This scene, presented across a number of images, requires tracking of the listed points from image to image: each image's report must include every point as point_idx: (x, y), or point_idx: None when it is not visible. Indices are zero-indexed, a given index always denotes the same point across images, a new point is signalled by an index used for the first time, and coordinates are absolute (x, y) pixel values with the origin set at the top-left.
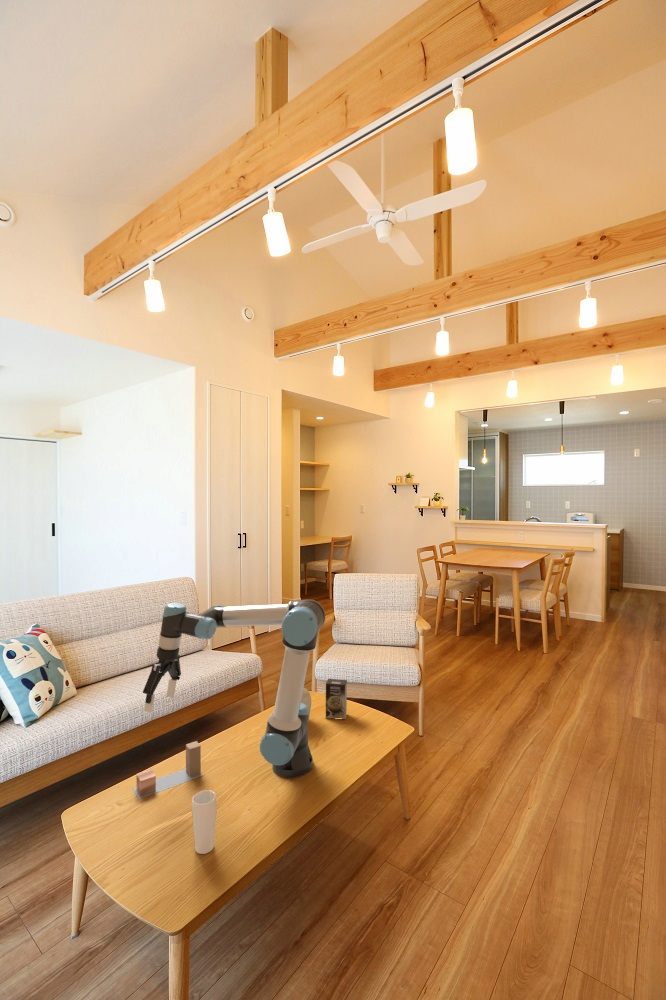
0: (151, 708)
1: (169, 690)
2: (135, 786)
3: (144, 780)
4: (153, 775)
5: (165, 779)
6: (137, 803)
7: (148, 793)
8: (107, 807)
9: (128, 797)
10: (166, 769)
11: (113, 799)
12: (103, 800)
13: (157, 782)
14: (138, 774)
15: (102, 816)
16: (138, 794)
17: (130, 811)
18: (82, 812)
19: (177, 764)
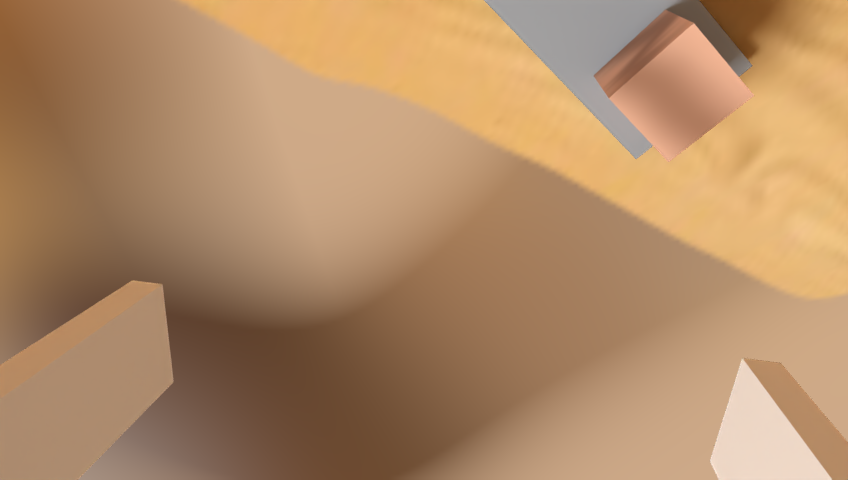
0: (810, 406)
1: (105, 411)
2: (628, 147)
3: (736, 75)
4: (688, 41)
5: (552, 8)
6: None
7: None
8: (771, 196)
9: None
10: (425, 72)
11: (706, 202)
12: (711, 241)
13: (586, 43)
14: (673, 147)
15: (845, 181)
16: None
17: (822, 63)
18: (798, 278)
19: (365, 32)
